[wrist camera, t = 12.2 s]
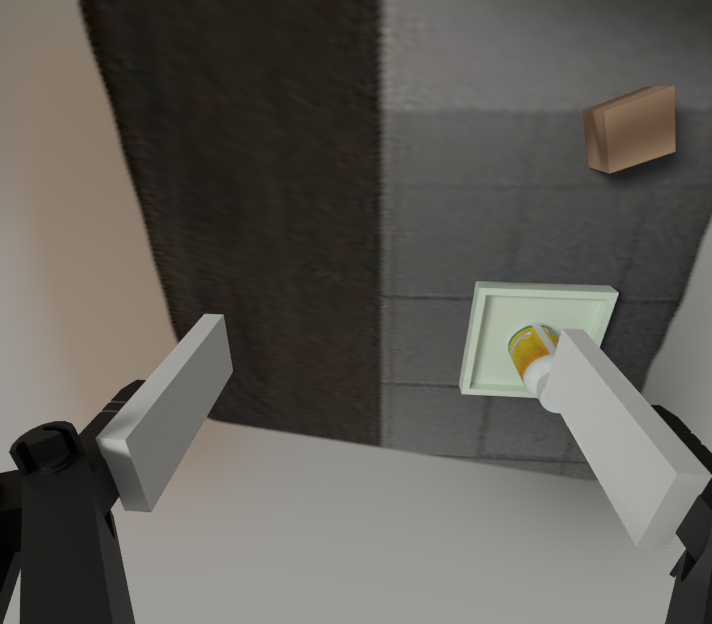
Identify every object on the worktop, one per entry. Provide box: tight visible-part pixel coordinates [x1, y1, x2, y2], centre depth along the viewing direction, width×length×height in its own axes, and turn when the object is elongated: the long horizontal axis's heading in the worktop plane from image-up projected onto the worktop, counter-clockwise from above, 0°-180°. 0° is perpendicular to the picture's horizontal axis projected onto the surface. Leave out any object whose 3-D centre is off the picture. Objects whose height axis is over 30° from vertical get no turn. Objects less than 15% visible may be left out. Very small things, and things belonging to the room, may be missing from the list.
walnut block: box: [583, 85, 676, 174], centre depth 33 cm, size 5×5×4 cm
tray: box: [459, 281, 619, 398], centre depth 44 cm, size 14×14×2 cm
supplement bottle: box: [507, 323, 560, 413], centre depth 40 cm, size 5×5×10 cm
